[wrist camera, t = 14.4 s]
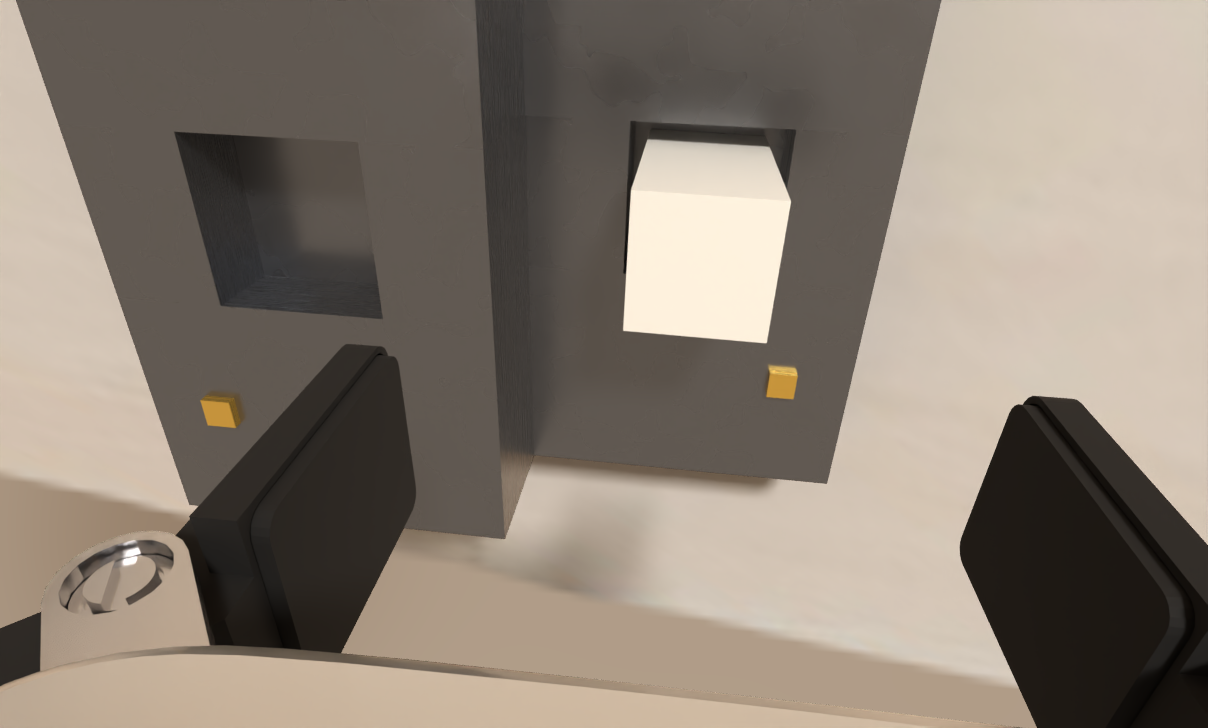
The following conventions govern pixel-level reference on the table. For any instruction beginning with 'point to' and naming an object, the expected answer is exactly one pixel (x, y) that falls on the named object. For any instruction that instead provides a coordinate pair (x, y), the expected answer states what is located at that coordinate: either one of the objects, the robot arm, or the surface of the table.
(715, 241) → the plug
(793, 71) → the panel
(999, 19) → the table surface
